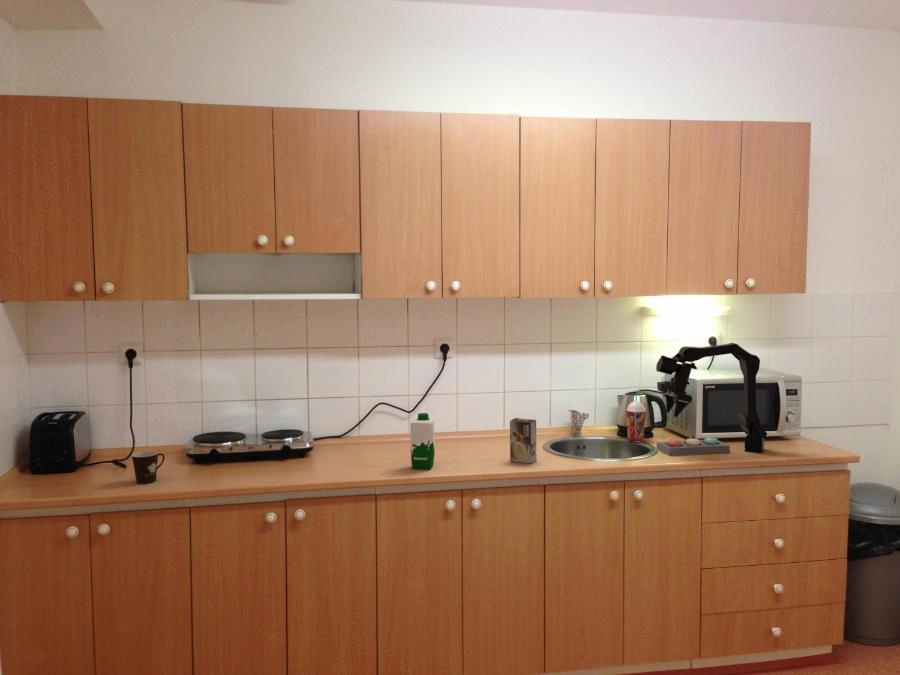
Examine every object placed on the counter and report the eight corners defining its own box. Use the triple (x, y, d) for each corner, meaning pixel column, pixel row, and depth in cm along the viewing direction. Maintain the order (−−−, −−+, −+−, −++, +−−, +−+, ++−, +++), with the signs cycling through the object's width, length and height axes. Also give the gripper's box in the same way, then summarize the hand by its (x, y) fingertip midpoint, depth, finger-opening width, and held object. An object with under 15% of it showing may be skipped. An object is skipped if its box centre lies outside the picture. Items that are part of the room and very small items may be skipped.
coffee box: (537, 460, 276) (537, 419, 274) (531, 463, 270) (531, 422, 269) (515, 457, 280) (515, 417, 279) (509, 461, 274) (509, 420, 273)
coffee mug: (136, 486, 245) (134, 458, 244) (130, 480, 252) (129, 453, 251) (171, 480, 252) (169, 453, 251) (164, 475, 259) (163, 448, 258)
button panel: (729, 452, 284) (729, 445, 284) (669, 455, 280) (669, 448, 280) (715, 446, 295) (715, 439, 295) (656, 449, 291) (656, 442, 291)
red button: (683, 447, 284) (683, 441, 284) (671, 447, 283) (671, 442, 283) (677, 444, 289) (677, 439, 289) (665, 444, 288) (665, 439, 288)
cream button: (701, 446, 285) (701, 441, 285) (690, 446, 285) (690, 441, 284) (695, 443, 290) (695, 438, 290) (684, 444, 290) (684, 438, 289)
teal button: (719, 445, 287) (720, 440, 286) (708, 446, 286) (708, 440, 286) (713, 442, 292) (713, 437, 291) (702, 443, 291) (702, 437, 291)
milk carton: (436, 464, 270) (435, 413, 269) (432, 470, 261) (431, 417, 260) (413, 463, 272) (413, 412, 270) (409, 470, 263) (408, 417, 261)
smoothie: (646, 443, 301) (647, 397, 300) (626, 442, 303) (627, 396, 301) (644, 438, 310) (645, 393, 308) (624, 438, 311) (625, 393, 309)
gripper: (654, 369, 292) (645, 405, 294) (670, 376, 274) (659, 414, 275) (680, 375, 293) (670, 412, 294) (697, 382, 274) (686, 421, 276)
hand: (671, 414), depth 285 cm, fingers open, 9 cm apart
